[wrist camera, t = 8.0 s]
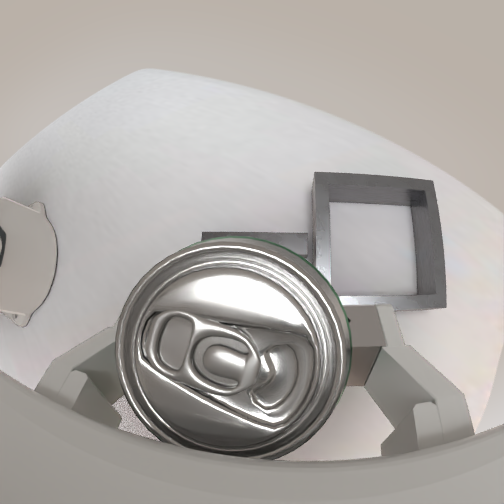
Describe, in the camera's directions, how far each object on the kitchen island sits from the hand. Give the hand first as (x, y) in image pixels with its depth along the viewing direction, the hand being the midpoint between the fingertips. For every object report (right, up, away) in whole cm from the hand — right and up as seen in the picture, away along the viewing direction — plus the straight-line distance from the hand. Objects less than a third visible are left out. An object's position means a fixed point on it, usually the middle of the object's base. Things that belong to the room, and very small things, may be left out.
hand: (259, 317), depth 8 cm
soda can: (0, -2, +8) cm, 9 cm away
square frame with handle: (+6, +2, +19) cm, 20 cm away
